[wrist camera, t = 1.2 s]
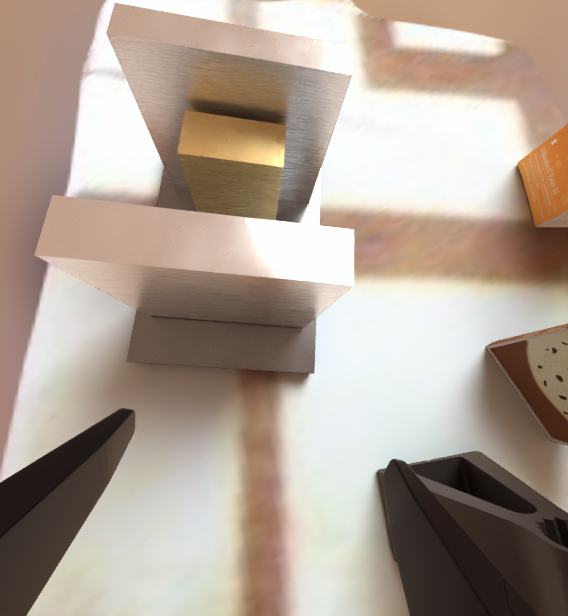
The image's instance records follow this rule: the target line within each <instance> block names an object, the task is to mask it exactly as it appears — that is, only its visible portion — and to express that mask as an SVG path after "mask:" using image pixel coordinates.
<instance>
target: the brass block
mask: <svg viewBox="0 0 568 616" xmlns="http://www.w3.org/2000/svg"><path fill="white" fill-rule="evenodd" d="M286 126H287V125H281V124H275V123H268V122H261V121H254V120H248V119H241V118H234V117H228V116H221V115H214V114H208V113H201V112H194V111H187V110H185V113H184V119H183V124H182V130H181V135H180V141H179V146H178V152H177V154H178V156H179V159H180V162H181V165H182V168H183V171H184V174H185V177H186V180H187V182H188V185H189V188H190V191H191V194H192V197H193V200H194V203H195V206H196V208H197V211H198V212H203V213H212V214H221V215H229V216H238V217H247V218H255V219H264V220H273V221H276V214H277V207H278V201H279V194H280V187H281V181H282V174H283V167H284V153H285V139H286Z"/></svg>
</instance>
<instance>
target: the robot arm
mask: <svg viewBox="0 0 568 616" xmlns="http://www.w3.org/2000/svg"><path fill="white" fill-rule="evenodd" d="M134 430H135V412H134V410H131V409H125V408H122V409H119V410H117V411H116V412H114V413H113V414H111V415H109V416H108V417H106V418H104V419H103V420H101V421H100V422H98V423H96V424H95V425H93V426H91V427H90V428H88V429H87V430H85V431H83V432H82V433H80V434H78V435H77V436H75V437H74V438H72V439H70V440H69V441H67V442H66V443H64V444H62V445H61V446H59V447H57V448H56V449H54V450H53V451H51V452H49V453H48V454H46V455H44V456H43V457H41V458H40V459H38V460H36V461H35V462H33V463H31V464H30V465H28V466H27V467H25V468H23V469H22V470H20V471H18V472H17V473H15V474H14V475H12V476H10V477H9V478H7V479H5V480H4V481H2V482H1V483H0V616H26V615H27V614H28V612H29V611H30V609H31V607H32V606H33V604H34V603H35V601H36V599H37V598H38V596H39V595H40V593H41V591H42V590H43V588H44V586H45V585H46V583H47V582H48V580H49V578H50V577H51V575H52V574H53V572H54V570H55V569H56V567H57V566H58V564H59V562H60V561H61V559H62V558H63V556H64V554H65V553H66V551H67V550H68V548H69V546H70V545H71V543H72V542H73V540H74V538H75V537H76V535H77V533H78V532H79V530H80V529H81V527H82V525H83V524H84V522H85V521H86V519H87V517H88V516H89V514H90V513H91V511H92V509H93V508H94V506H95V505H96V503H97V501H98V500H99V498H100V497H101V495H102V493H103V492H104V490H105V488H106V487H107V485H108V483H109V482H110V480H111V478H112V476H113V474H114V472H115V470H116V468H117V466H118V464H119V462H120V460H121V458H122V456H123V454H124V452H125V450H126V448H127V446H128V444H129V442H130V440H131V438H132V436H133V433H134ZM383 486H384V493H385V500H386V507H387V514H388V521H389V527H390V532H391V537H392V541H393V546H394V550H395V554H396V558H397V563H398V567H399V571H400V575H401V580H402V584H403V588H404V592H405V597H406V601H407V605H408V610H409V614H410V616H539V615H538V614H537V613H536V612H535V610H534V609H533V608H532V607H531V606H530V605H529V604H528V603H527V601H526V600H525V599H524V598H523V597H522V596H521V595H520V594H519V592H518V591H517V590H516V589H515V588H514V587H513V586H512V584H511V583H510V582H509V581H508V580H507V579H506V578H505V577H503V575H502V573H501V572H500V571H499V570H498V568H497V567H496V566H495V565H494V564H493V563H492V561H491V560H490V559H489V558H488V557H487V556H486V555H485V553H484V552H483V551H482V550H481V549H480V548H479V546H478V545H477V544H476V543H475V542H474V541H473V540H472V538H471V537H470V536H469V535H468V534H467V533H466V531H465V530H464V529H463V528H462V527H461V526H460V525H459V523H458V522H457V521H456V520H455V519H454V518H453V516H452V515H451V514H450V513H449V512H448V511H447V510H446V508H445V507H444V506H443V505H442V504H441V503H440V501H439V500H438V499H437V498H436V497H435V496H434V495H433V493H432V492H431V491H430V490H429V489H428V488H427V487H426V485H425V484H424V483H423V482H422V481H421V480H420V478H419V477H418V476H417V475H416V474H415V473H414V472H413V470H412V469H411V468H410V467H409V466H408V465H407V463H406V462H404V461H402V460H398V459H392V460H391V461H390V462H389V464H388V466H387V468H386V470H385V471H384V474H383Z"/></svg>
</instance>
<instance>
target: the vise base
mask: <svg viewBox="0 0 568 616" xmlns="http://www.w3.org/2000/svg"><path fill="white" fill-rule="evenodd" d="M107 35H108V38H109V40H110V42H111V45H112V47H113V49H114V52H115V54H116V56H117V58H118V61H119V63H120V65H121V68H122V70H123V72H124V75H125V77H126V79H127V82H128V84H129V86H130V88H131V91H132V93H133V95H134V98H135V100H136V102H137V105H138V107H139V109H140V112H141V114H142V116H143V118H144V121H145V123H146V125H147V128H148V130H149V132H150V135H151V137H152V139H153V142H154V144H155V146H156V148H157V151H158V153H159V155H160V158H161V160H162V162H163V165H164V171H163V176H162V182H161V187H160V192H159V197H158V202H157V207H160V208H169V209H177V210H186V211H195V212H198V211H197V208H196V206H195V203H194V200H193V197H192V194H191V191H190V188H189V185H188V182H187V180H186V177H185V174H184V171H183V168H182V165H181V162H180V159H179V156H178V154H177V152H178V146H179V141H180V135H181V130H182V124H183V119H184V113H185V110H187V111H194V112H201V113H208V114H214V115H221V116H228V117H234V118H241V119H248V120H254V121H261V122H268V123H275V124H281V125H287V126H286V139H285V153H284V167H283V174H282V181H281V187H280V194H279V201H278V207H277V214H276V221H281V222H290V223H298V224H307V225H316V226H319V218H320V189H321V166H322V163H323V160H324V157H325V154H326V151H327V148H328V145H329V142H330V139H331V136H332V133H333V130H334V127H335V124H336V121H337V118H338V115H339V112H340V109H341V106H342V103H343V100H344V97H345V94H346V91H347V88H348V85H349V82H350V79H351V76H352V46H350V45H344V44H339V43H333V42H328V41H322V40H317V39H311V38H306V37H300V36H295V35H289V34H284V33H278V32H273V31H267V30H262V29H256V28H250V27H245V26H239V25H234V24H228V23H223V22H217V21H212V20H206V19H201V18H195V17H190V16H184V15H179V14H173V13H168V12H162V11H157V10H151V9H145V8H140V7H134V6H129V5H123V4H118V3H115V5H114V9H113V12H112V16H111V19H110V23H109V26H108V29H107ZM315 335H316V318H315V319H314V320H313V321H312V322H310V323H309V324H308V325H307V326H306V327H304V328H301V327H288V326H276V325H263V324H251V323H238V322H225V321H213V320H200V319H187V318H175V317H162V316H150V315H146V314H144V313H142V312H141V311H139V310H137V311H136V316H135V322H134V327H133V332H132V337H131V342H130V348H129V353H128V358H127V362H138V363H154V364H170V365H186V366H201V367H217V368H233V369H249V370H264V371H280V372H296V373H313V374H314V364H315Z"/></svg>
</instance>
